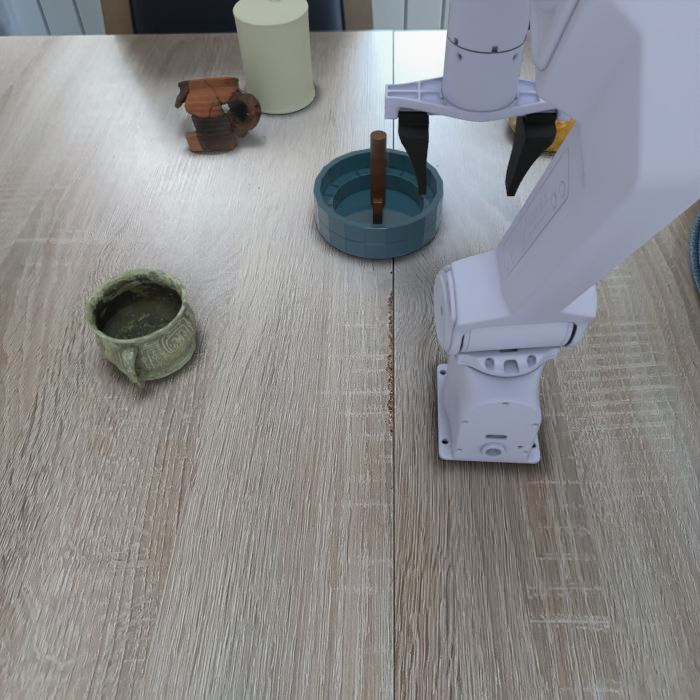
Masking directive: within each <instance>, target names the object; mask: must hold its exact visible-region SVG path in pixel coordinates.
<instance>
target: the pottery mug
mask: <svg viewBox="0 0 700 700" xmlns="http://www.w3.org/2000/svg"><path fill="white" fill-rule="evenodd" d="M239 79H240V78H238V77H234V76H219V77H217V76H216V77H206V78H198V79H187V80H182V81H179V82H178V83H177V87H178V88H179V92H178V94H177V95H176V98H175V102H174V108H176V109H180V108H181V107H182V105H183V106H184V110H185V112H186V113H187V114H189V115H191V116H190V117H191V121H192V123H193V127H194V128H195V130H194V131H190V132H189V131H187V132H186V133H185V134H184V136H185V139H186V142H187V145H188V147H189V151H190V152H221V151H229V150H234V149H235V147H236V145H235V139H236V137H235V136H236V135H237V136H238V137H239V138H243V139H244V138H245V137H246V136H247V135H248V134H249V131H252V130H254V129H255V128H256V127H257V126H258V124H259V122H260V120H261V117H262V113H263V112H262V111H261V106H260V103H259V101H258V99H257V98H256V97H255V96H254V95H252V94H248V93H247V92H244V91H243V90H242V88H241V87H240V83H239V82H240V80H239ZM243 92H244V93H243ZM225 105H227V106H228V108H229V109H228V110H227V111H226V112H225V110H224V108H223V106H225Z"/></svg>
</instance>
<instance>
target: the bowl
mask: <svg viewBox="0 0 700 700" xmlns="http://www.w3.org/2000/svg"><path fill="white" fill-rule="evenodd" d="M426 165H427V191H426V195H419V194H418V184H417V179H416V175H415V171H414V168H413V165H412V163H411V160H410V158H409V156H408V154H407V152H406V150H405V151H404V150H400V149H396V148H389V147H387V151H386V205H385V207H384V208H383V217H382V224H373V208H372V207H371V197H370V147H368V148H363V149H357V150H352V151H349V152H347V153H344V154H342V155H339V156H336V157H335V158H334V159H332V160H331V161H330V162H328V163H326V164H325V165H324V166H323V167H322V168H321V170H320V171H319V173H318V174H317V176H316V177H315V179H314V183H313V189H312V191H313V192H312V193H313V204H314V205H313V206H314V215H315V216H314V217H315V223H316V226H317V228H318V229H317V230H318V232H319V234H320V235H321V236H322V237H323V238H324V239H325V241H327V243H328V244H329V245H331V246H332V247H334V248H336V249H338V250H339V251H341V252H343V253H344V254H348V255H350V256H356V257H359V258H363V259H379V260H381V259H383V260H386V259H392V258H396V257H402V256H406V255H408V254H411V253H412V252H415V251H416V250H417V251H418V250H419V249H421V248H423V247H424V246H425V245H426V244H428V243H429V242H431V240H432V239H434V237H435V236H436V234H437V232H438V230H439V228H440V225H441V220H442V213H443V212H442V210H443V201H444V181H443V178H442V176H441V174H440V173H439V171H438V170H437V168H436V167H435V166H433V165H432V164H431V163H430V162H429V161H427V164H426Z"/></svg>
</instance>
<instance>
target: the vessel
mask: <svg viewBox="0 0 700 700" xmlns="http://www.w3.org/2000/svg"><path fill="white" fill-rule="evenodd" d="M83 310H84V311H83V313H84V321H85V322H86V324H87V326H88V328H89V330H90V332H91V331H92V332H93V333H94V334H95V342H96V345H97V346H98V349H99V350H100V352H101V354H102V356H103V357H104V358H105V359H106V360H107V361H109V362H110V363H112V364H113V365H115V366H116V367H117V369H118V370H119V371H120V372H121V373H123V374H124V375H126V376H127V378H128V380H129V382H131V383H132V384H136V385H137V386H138V388H139V389H144V388H145V386H146V381H155V380H159V379H163V378H166V377H168V376H170V375H172V374H174V373H175V372H177V371H179V370H180V369H182V368H183V367H184V366H185V365H186V364H187V363H188V362H189V361H191V359H192V357H193V355H194V353H195V352H196V349H197V343H196V341H197V340H196V334H197V322H196V315H195V312H194V310H193V309H192V307H191V305H190V304H189V303H188V297H187V293H186V288H185V286H184V284H183V283H182V282H181V280H180V279H179V278H178V277H176V276H174V275H173V274H171V273H169V272H167V271H165V270H161V269H156V268H148V267H146V268H145V267H144V268H143V267H142V268H135V269H130V270H127V271H122V272H121V273H119V274H116V275H114V276H113V277H111V278H109V279H106V280H105V281H103V282H102V283H101V284H100V285H98V286H97V287H95V289H94V290H93V291H92V293H91V294H90V296H89V297H88V299H87V300H86V302H85V305H84V309H83Z"/></svg>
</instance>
